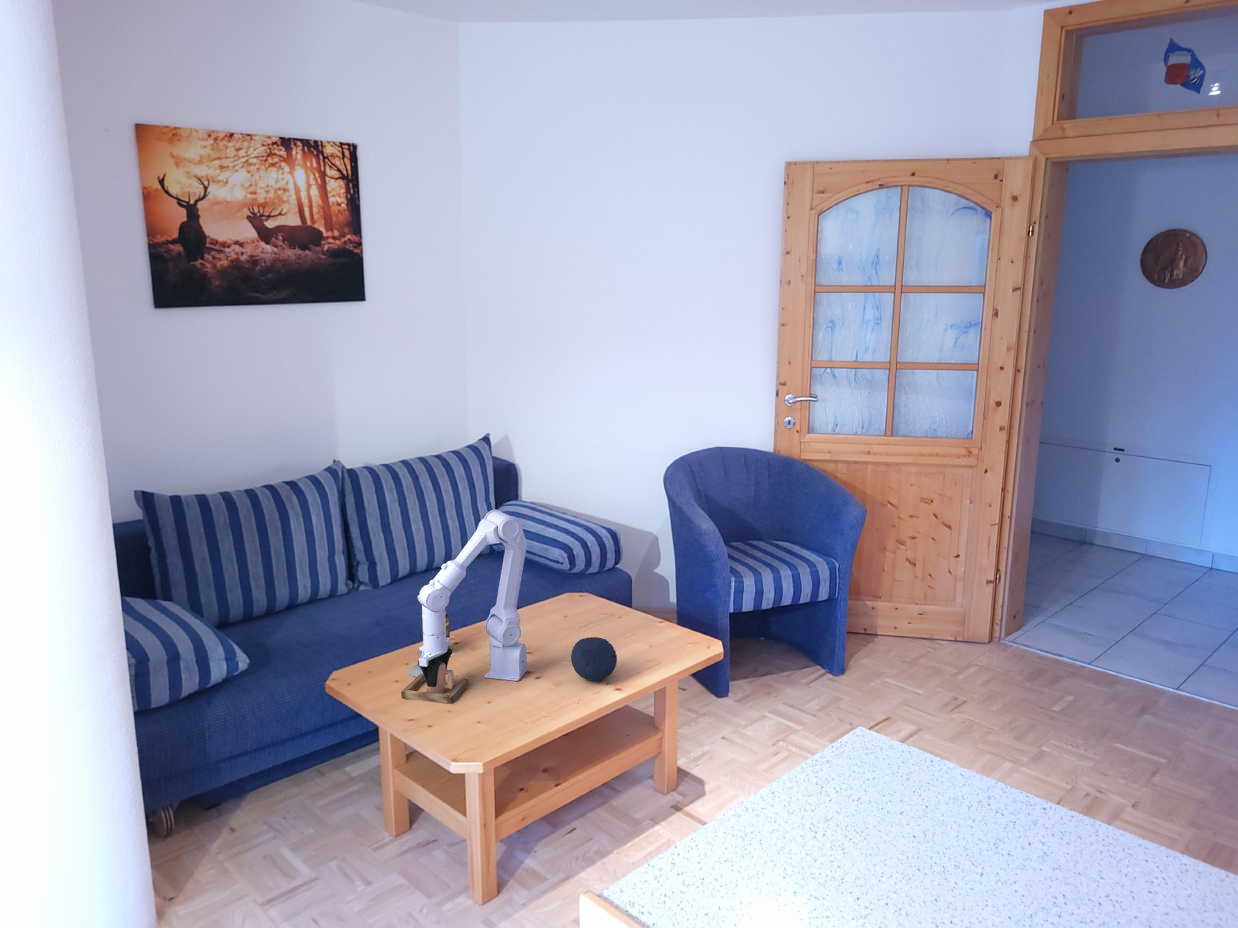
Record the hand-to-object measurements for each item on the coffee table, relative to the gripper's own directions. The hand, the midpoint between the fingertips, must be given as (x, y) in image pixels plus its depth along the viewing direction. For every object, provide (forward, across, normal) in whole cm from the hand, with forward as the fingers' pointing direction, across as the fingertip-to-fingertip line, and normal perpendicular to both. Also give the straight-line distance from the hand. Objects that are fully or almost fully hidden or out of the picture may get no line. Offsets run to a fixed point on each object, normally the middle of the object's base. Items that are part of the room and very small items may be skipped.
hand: (436, 681), depth 238 cm
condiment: (+3, -22, -10) cm, 24 cm away
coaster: (+2, -10, -8) cm, 13 cm away
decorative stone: (+3, -17, +37) cm, 41 cm away
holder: (+2, 0, 0) cm, 2 cm away
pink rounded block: (+2, 0, +1) cm, 3 cm away
